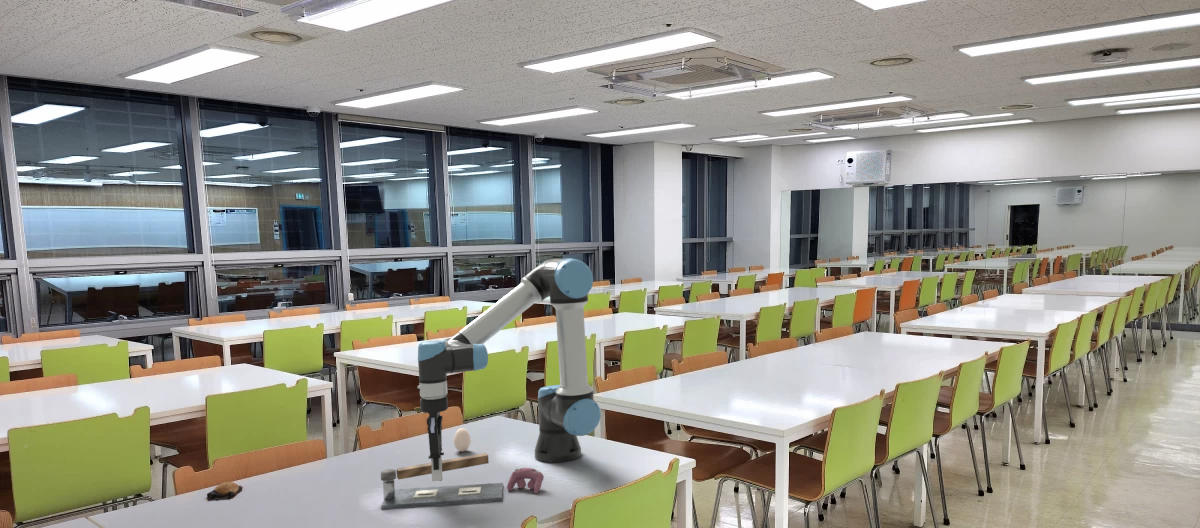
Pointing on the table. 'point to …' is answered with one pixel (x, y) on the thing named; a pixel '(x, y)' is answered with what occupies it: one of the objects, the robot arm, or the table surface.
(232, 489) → the toy turtle
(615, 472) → the table surface
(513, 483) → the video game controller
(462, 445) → the egg
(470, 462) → the swing bar
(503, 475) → the table surface
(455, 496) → the board
